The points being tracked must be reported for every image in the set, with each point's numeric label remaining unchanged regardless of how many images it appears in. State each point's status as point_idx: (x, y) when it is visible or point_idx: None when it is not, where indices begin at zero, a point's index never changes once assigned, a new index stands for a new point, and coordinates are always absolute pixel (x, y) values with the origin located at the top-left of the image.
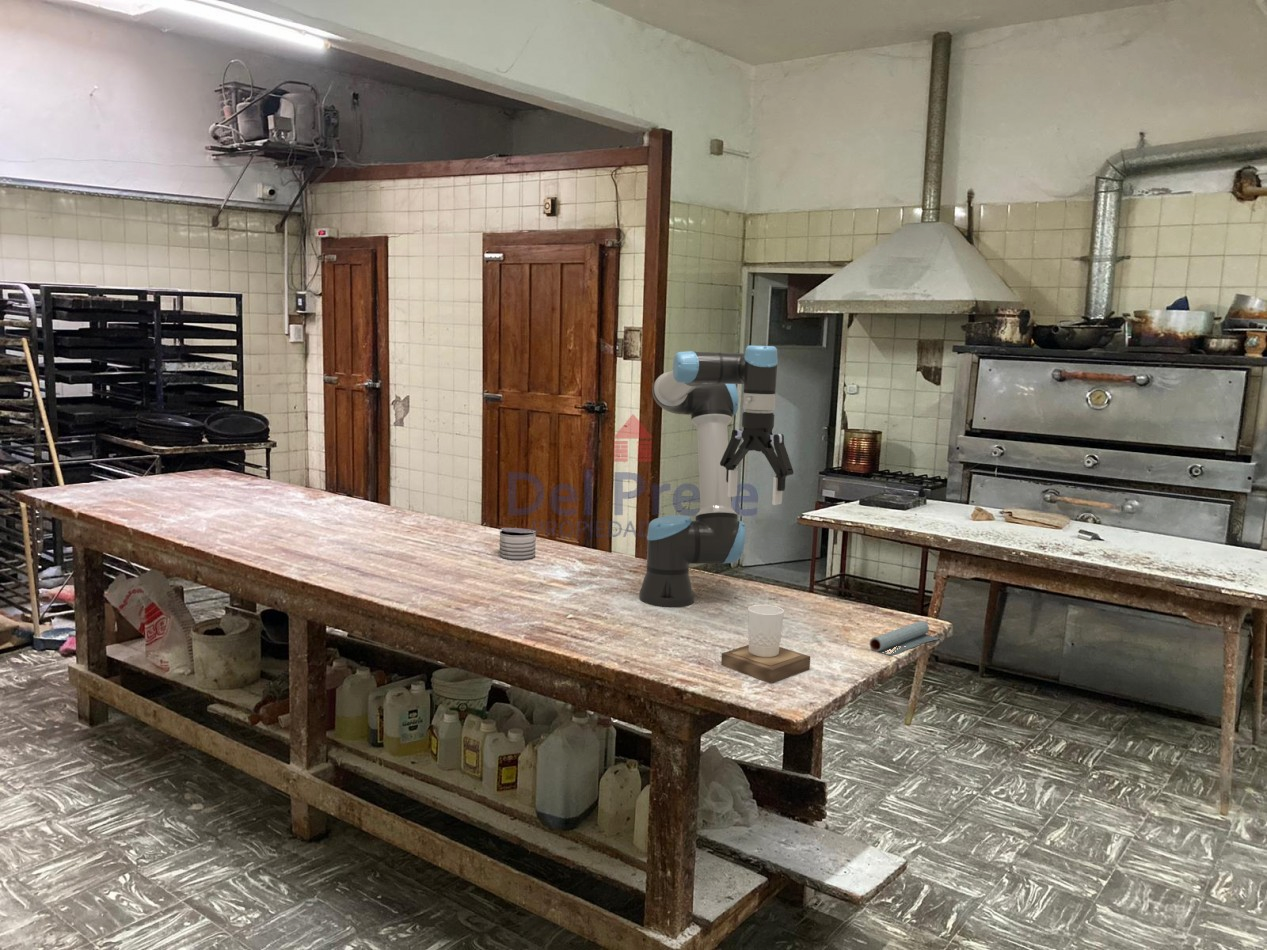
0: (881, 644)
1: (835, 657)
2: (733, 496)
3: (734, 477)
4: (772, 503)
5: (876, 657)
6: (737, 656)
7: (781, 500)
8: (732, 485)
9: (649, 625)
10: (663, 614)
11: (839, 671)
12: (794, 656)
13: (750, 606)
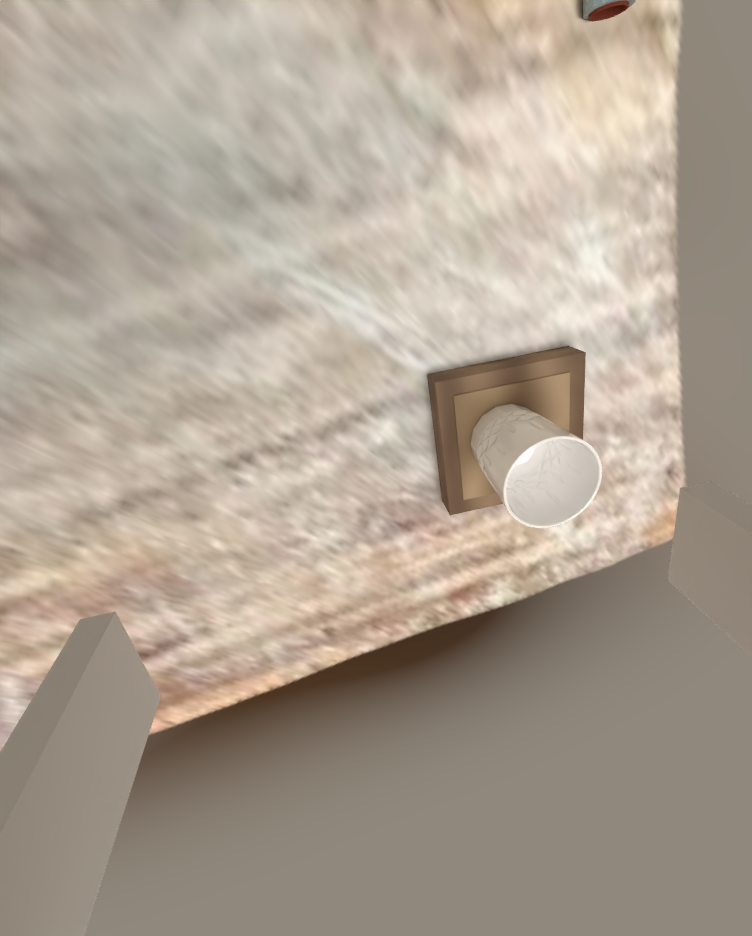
0: (633, 3)
1: (559, 212)
2: (136, 654)
3: (32, 917)
4: (678, 586)
5: (635, 89)
6: (484, 499)
7: (740, 505)
8: (100, 796)
9: (110, 488)
10: (8, 399)
11: (621, 290)
12: (565, 391)
13: (507, 504)
